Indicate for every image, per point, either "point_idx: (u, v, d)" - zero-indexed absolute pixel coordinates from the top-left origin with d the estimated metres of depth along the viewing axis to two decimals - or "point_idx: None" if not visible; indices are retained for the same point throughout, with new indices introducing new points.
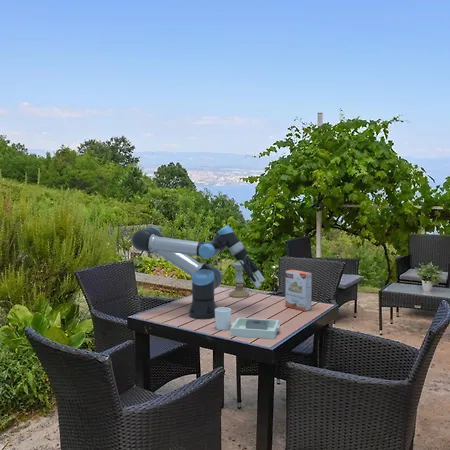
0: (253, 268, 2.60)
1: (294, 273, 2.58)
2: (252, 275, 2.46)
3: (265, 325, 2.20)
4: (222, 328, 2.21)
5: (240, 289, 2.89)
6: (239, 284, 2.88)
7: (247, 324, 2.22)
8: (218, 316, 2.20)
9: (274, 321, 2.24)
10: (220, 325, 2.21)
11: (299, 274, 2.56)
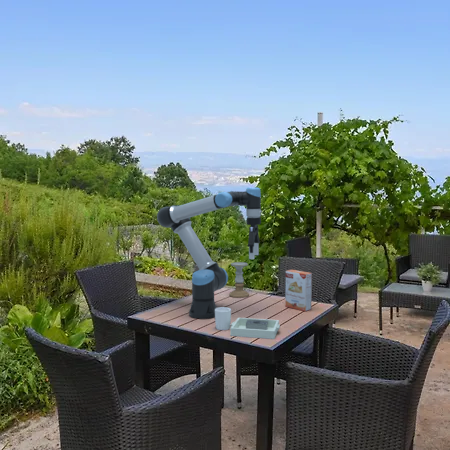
0: (255, 239, 2.53)
1: (294, 273, 2.58)
2: (252, 246, 2.40)
3: (265, 325, 2.20)
4: (222, 328, 2.21)
5: (240, 289, 2.89)
6: (239, 284, 2.88)
7: (247, 324, 2.22)
8: (218, 316, 2.20)
9: (274, 321, 2.24)
10: (220, 325, 2.21)
11: (299, 274, 2.56)
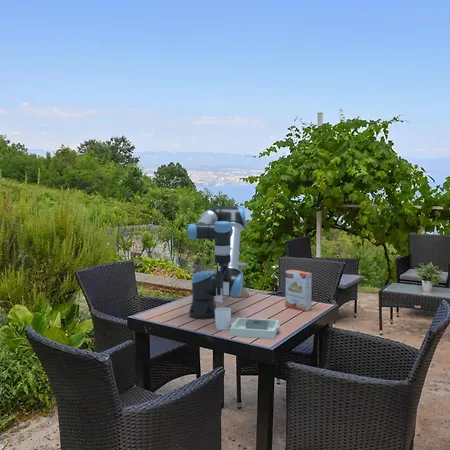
0: (225, 277, 2.27)
1: (294, 273, 2.58)
2: (220, 288, 2.14)
3: (265, 325, 2.20)
4: (222, 328, 2.21)
5: None
6: None
7: (247, 324, 2.22)
8: (218, 316, 2.20)
9: (274, 321, 2.24)
10: (220, 325, 2.21)
11: (299, 274, 2.56)
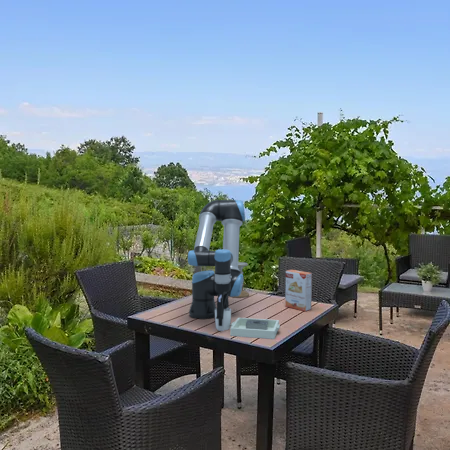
0: (224, 308, 2.27)
1: (294, 273, 2.58)
2: (221, 318, 2.18)
3: (265, 325, 2.20)
4: None
5: None
6: None
7: (247, 324, 2.22)
8: None
9: (274, 321, 2.24)
10: None
11: (299, 274, 2.56)
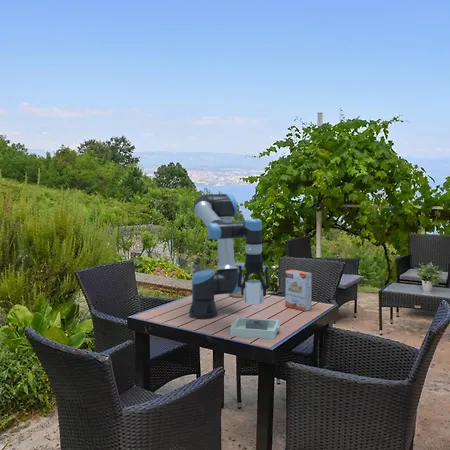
0: None
1: (294, 273, 2.58)
2: (241, 287, 2.15)
3: (265, 325, 2.20)
4: (246, 299, 2.15)
5: (240, 289, 2.89)
6: None
7: (247, 324, 2.22)
8: None
9: (274, 321, 2.24)
10: None
11: (299, 274, 2.56)
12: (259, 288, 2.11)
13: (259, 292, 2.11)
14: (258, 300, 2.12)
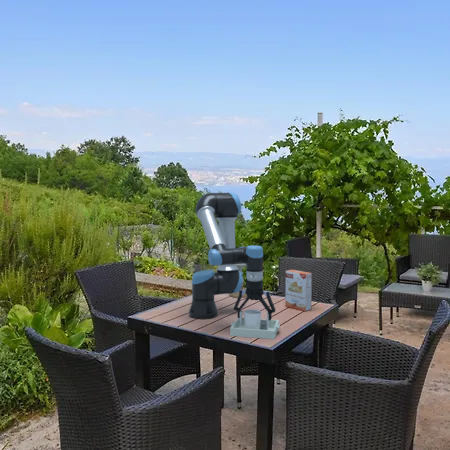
0: None
1: (294, 273, 2.58)
2: (237, 311, 2.16)
3: (265, 325, 2.20)
4: None
5: (240, 289, 2.89)
6: None
7: None
8: None
9: (274, 321, 2.24)
10: None
11: (299, 274, 2.56)
12: (258, 319, 2.13)
13: (258, 322, 2.13)
14: None
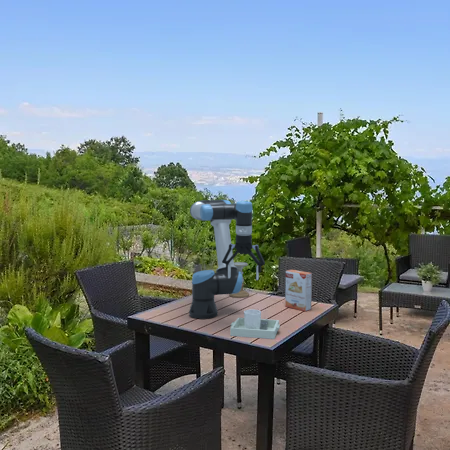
0: None
1: (294, 273, 2.58)
2: (226, 263, 2.23)
3: (265, 325, 2.20)
4: None
5: None
6: None
7: None
8: None
9: (274, 321, 2.24)
10: None
11: (299, 274, 2.56)
12: (258, 319, 2.13)
13: (258, 322, 2.13)
14: None
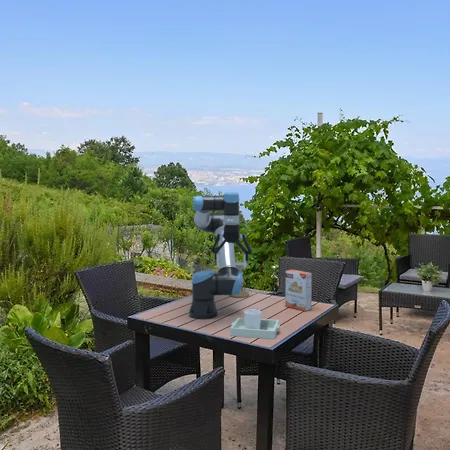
0: None
1: (294, 273, 2.58)
2: (214, 252, 2.31)
3: (265, 325, 2.20)
4: None
5: None
6: None
7: None
8: None
9: (274, 321, 2.24)
10: None
11: (299, 274, 2.56)
12: (258, 319, 2.13)
13: (258, 322, 2.13)
14: None
